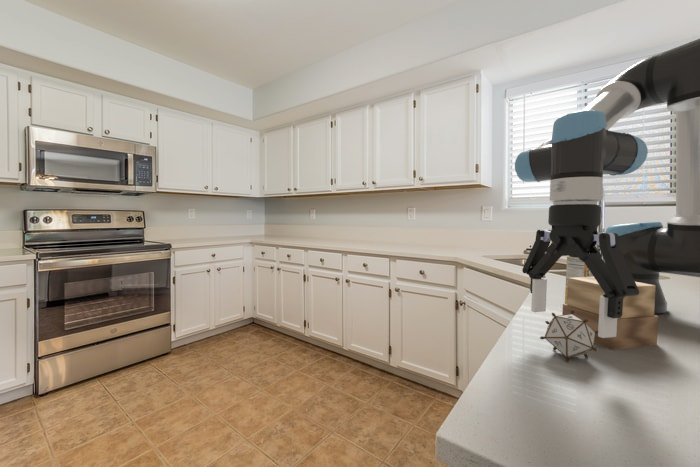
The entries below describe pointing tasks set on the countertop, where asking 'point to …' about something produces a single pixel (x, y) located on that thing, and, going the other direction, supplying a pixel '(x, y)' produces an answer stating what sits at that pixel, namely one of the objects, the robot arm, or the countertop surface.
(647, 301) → the top block
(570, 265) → the candy box
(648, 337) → the bottom block
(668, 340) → the countertop surface
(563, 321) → the game die
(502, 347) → the countertop surface
